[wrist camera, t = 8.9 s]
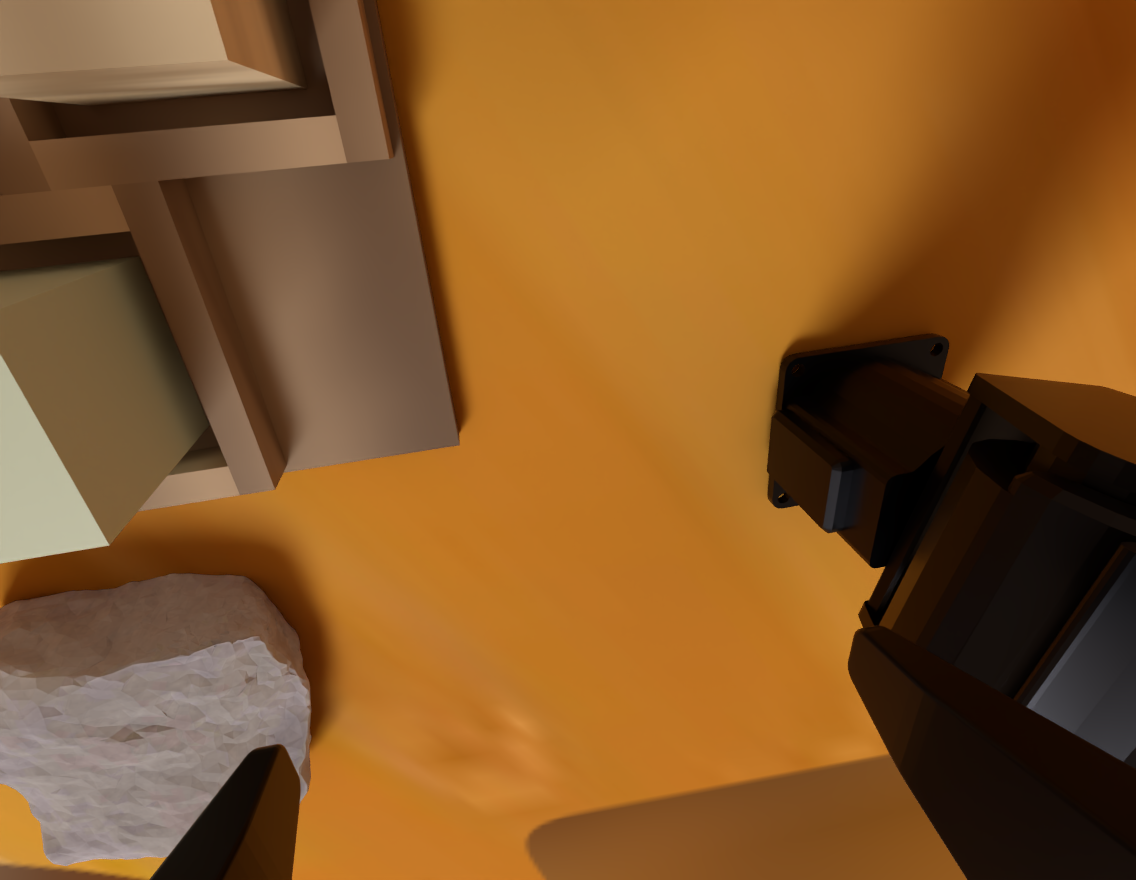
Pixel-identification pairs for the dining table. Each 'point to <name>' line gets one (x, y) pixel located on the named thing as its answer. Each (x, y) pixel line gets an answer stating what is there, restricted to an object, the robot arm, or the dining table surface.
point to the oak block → (145, 50)
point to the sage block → (85, 404)
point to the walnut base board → (255, 253)
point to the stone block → (143, 707)
